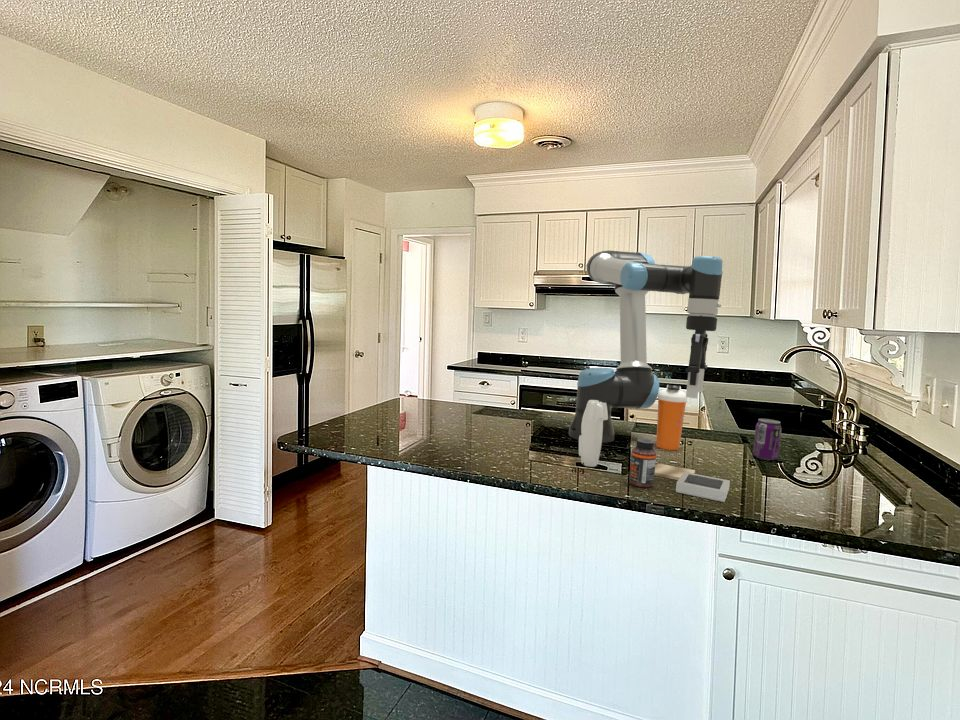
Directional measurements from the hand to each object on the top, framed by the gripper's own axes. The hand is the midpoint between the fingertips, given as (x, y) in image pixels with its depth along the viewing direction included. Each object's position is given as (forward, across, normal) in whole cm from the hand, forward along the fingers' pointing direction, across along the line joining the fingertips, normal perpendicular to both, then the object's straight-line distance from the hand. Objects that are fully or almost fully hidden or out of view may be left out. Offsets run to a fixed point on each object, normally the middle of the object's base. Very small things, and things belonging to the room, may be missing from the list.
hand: (694, 394), depth 150 cm
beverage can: (+22, +34, -19) cm, 45 cm away
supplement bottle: (+22, -17, +9) cm, 29 cm away
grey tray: (+22, -13, -5) cm, 26 cm away
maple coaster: (+22, -2, +3) cm, 22 cm away
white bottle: (+22, -8, +25) cm, 34 cm away
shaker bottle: (+22, +28, +9) cm, 36 cm away
